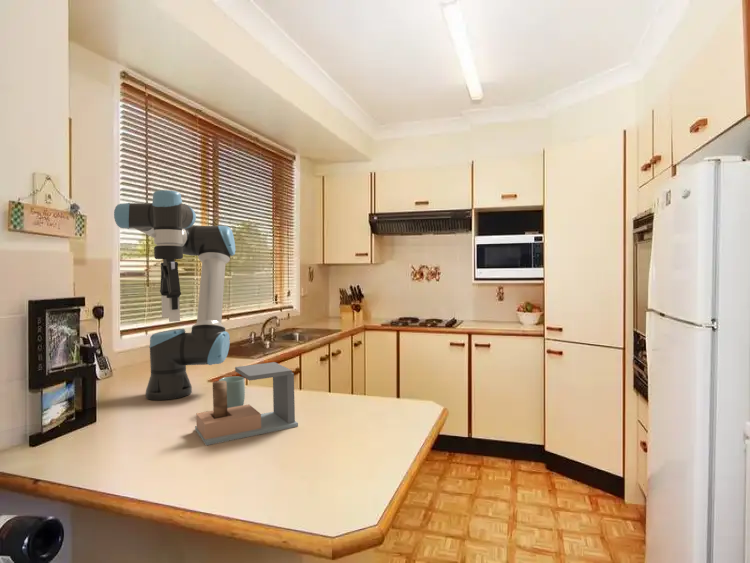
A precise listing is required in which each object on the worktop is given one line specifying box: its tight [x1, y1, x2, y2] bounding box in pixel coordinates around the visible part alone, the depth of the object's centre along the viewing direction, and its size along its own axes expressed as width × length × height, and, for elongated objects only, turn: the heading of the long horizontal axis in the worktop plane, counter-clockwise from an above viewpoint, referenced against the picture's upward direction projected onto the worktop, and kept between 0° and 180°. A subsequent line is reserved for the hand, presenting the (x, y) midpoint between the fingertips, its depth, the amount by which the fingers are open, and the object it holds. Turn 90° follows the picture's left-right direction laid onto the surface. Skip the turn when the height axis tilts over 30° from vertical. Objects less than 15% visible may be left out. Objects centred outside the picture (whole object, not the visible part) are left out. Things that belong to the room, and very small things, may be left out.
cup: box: [218, 376, 246, 408], centre depth 147 cm, size 8×8×10 cm
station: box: [194, 361, 299, 446], centre depth 130 cm, size 14×25×16 cm, turn 122°
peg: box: [212, 380, 227, 419], centre depth 127 cm, size 4×4×12 cm
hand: (170, 319), depth 134 cm, fingers open, 13 cm apart
